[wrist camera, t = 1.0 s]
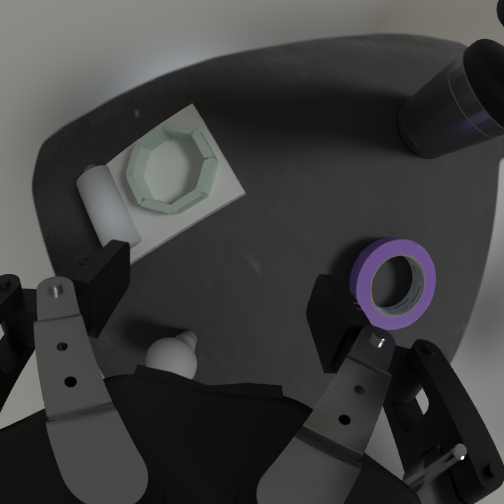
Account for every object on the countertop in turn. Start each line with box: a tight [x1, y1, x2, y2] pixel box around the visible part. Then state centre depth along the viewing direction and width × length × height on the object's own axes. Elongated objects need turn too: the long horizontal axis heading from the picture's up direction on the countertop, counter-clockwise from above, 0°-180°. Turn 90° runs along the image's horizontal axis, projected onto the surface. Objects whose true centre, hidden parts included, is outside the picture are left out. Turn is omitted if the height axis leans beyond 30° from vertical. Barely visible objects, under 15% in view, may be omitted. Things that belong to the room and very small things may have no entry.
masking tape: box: [349, 237, 436, 330], centre depth 32 cm, size 12×12×4 cm
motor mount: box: [76, 104, 246, 265], centre depth 32 cm, size 19×14×7 cm
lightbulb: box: [146, 331, 197, 379], centre depth 32 cm, size 6×6×11 cm
